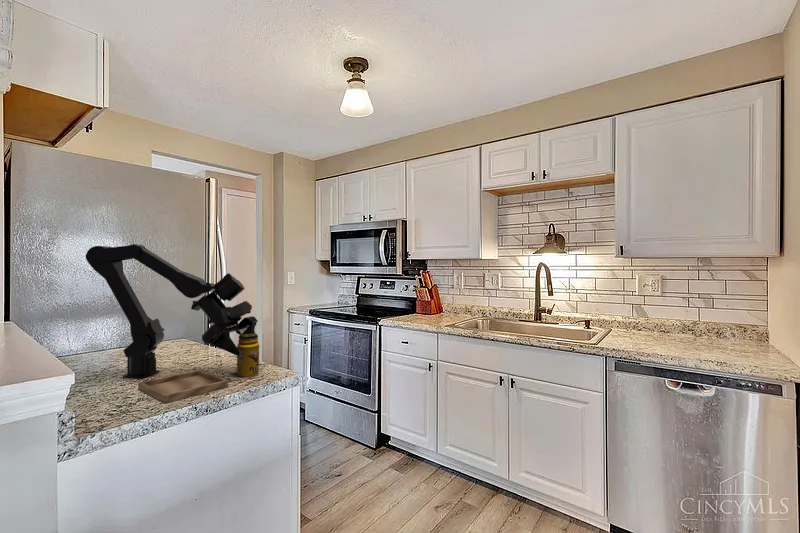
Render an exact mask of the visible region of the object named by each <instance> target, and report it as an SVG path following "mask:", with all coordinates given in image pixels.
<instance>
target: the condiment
mask: <svg viewBox="0 0 800 533" xmlns="http://www.w3.org/2000/svg"><path fill="white" fill-rule="evenodd" d="M258 337H259V336H258V334H257V333H256V332H255V333H245V334H241V335H239V334H238V344H237V345H236V347H237V348H238V350H239V352H240V354H239V355H238V356H237V355H236V371H235V372H227V373H226V374H227V376H228V378H229V379H230V381H236V380H237V381H238V380H244V379H251V378H252V379H253V378H259V377H263V374H261V373H260V372H259V371H260V370H259V367H260V343H259V340H258V339H259V338H258Z"/></svg>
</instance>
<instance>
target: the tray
mask: <svg viewBox="0 0 800 533" xmlns="http://www.w3.org/2000/svg"><path fill="white" fill-rule="evenodd" d="M228 387H229V380H228V379H225V378H224V377H223V378H222V377H219V376H217V375H214V374H212V373H210V372H209V373H208V372H206V371H203V370H200V369H197V370H193V371H187V372H183V373H179V374H173V375H170V376H164V377H159V378H154V379H151V380H146V381H141V382H138V387H137V388H138V391H141V392H143V393H144V394H146V395H148V396H150V397H151V398H154V399H155V398H156V400H157V399H158V401H160V402H161V403H163V404H169V403H172V402H176V401H181V400H184V399H187V398H192V397H195V396H199V395H203V394H207V393H212V392H214V391H219V390H222V389H225V388H226V389H227V388H228Z"/></svg>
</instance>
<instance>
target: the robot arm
mask: <svg viewBox="0 0 800 533" xmlns="http://www.w3.org/2000/svg"><path fill="white" fill-rule="evenodd" d="M85 260H86V262H87V263H88V265H90V267H91V268H92V269H93V271H95V273H97V274H98V275H99V276H101V277H102V278H103V279H104V280H105V282H106V283H107V285H108V286H109V287H108V288H110V290H111V292H112V294H113V296H114V298H115V300H116V301H117V302H118V305H119V306H120V308H121V310H122V312H123V314H124V315H125V317H126V319H127V320H128V322H129V328H130V337H131V340H132V343H130V344H129V345H128V346H127V347H126V348H124V349H123V353H124V356H125V358H127V362H126V364H127V365H126V366H127V367H126V372H127V373H125V374H123V375H122V378H134V379H144V378H148V377H150V376H151V375H154V374H157V373H160V370H158V369H157V358H156V352H154V351H156V350H157V347H158V345H160V344H161V343H162V342H163V340H164V338H165V334H164V331H165V328H164V327H162V325H161V322H160V320H159V318H155V319H153V318H150V316H148V315H147V313H146V311H145V310H144V308H143V306H142V304H141V302H140V301H139V299H138V297H137V295H136V293H135V291H134V288H132V286H131V284H130V282H129V280H128V279H127V277H126V275H125V272H124V263H123V261H129V260H135V261H137V262H139V263H141V264H142V265H143V266H145V267H147V268H149V269H150V270H152V271H153V272H155V273H156V274H158V275H160V276H161V277H162V278H165V279H166V280H168V281H169V282H170V283H172V285H173V286H174V288H176V290H178V291H179V293H182V295H184V297H186V298H189V299H194V298H199V297H201V298H199V299H198V300H193V301H192V305H191V307H190V309H191V310H193V311H197V312H198V311H199V310H202V311H203V313H204V314H205V316H206V318H208V320H207V323H208V325H210V324H211V325H210V326H209V328H207V330H206V331H205V332H204V333H203V334H202V335H201V341H202V342H203V344H204V345H205V346H208V345H209V346H210V347H215V348H218V349H220V350H223V351H226V352H227V353H230V354H232V355H235V356H236V357H237V356H238V355H239V354H240V352H239V350H238V348H237V345H236V344H235V343H234V340H232V338H231V336H230V334H231V333H234V332H236V334H237V335H238V336H239V335H241V334H245V333H255V334H256V331H255V329H256V326H257V323H258V319H257V318H256V317H255V316H251V315H250V316H247V317H243V316H245V315H247V314H250V313H252V307H253V306H252V304H250V302H248V301H247V300H246V301H242V302H240V303H237V304H236V305H234V306H233V305H232V306H226V305H225V303H224V302H226V301H228V302H231V301H232V300H233V299H235V298H236V297H237V296H238V295H239V294H241V293H242V292H243V291H244V290H246V287H245V286H244V284H243V283H242V282H241V281H240V280H239V279H237V278H236V277H235V276H233V275H232V274H231V273H230V272H228V273H226V274H225V275H223V277H222V278H221V279H219V281H217V283H214V282H212V283H211V282H206V280H205V279H203V278H201V277H200V276H197V275H194V274H193V273H192V274H191V273H189V272H186V271H183V270H181V269H179V268H178V267H177V266H174V265H173V264H171V263H170V262H169V261H167V260H166V259H164V258H162V257H161V256H159V255H157V253H154V252H152V250H149V248H148V249H147V247H146V246H144V245H142V244H138V243H137V244H136V243H133V244H129V245H122V246H107V245H94V246H91V247H90V248H88V250H87V252H86V254H85ZM207 293H208V294H207ZM204 294H205V295H204ZM206 294H207V295H206ZM242 317H243V318H242Z"/></svg>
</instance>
